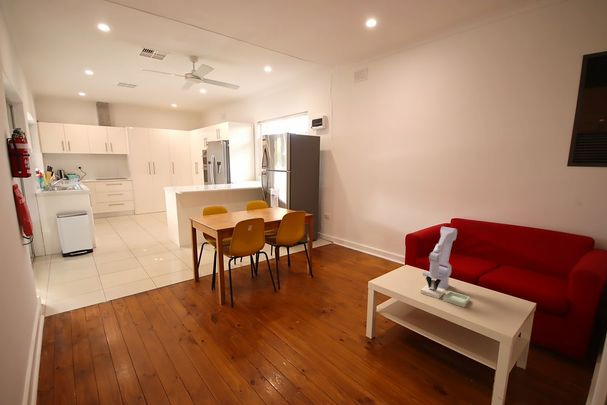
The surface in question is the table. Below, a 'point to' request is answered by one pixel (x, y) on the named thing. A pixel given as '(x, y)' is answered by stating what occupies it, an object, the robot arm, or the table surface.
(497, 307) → the table surface
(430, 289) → the lock pin
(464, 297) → the pin tray
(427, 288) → the lock block
